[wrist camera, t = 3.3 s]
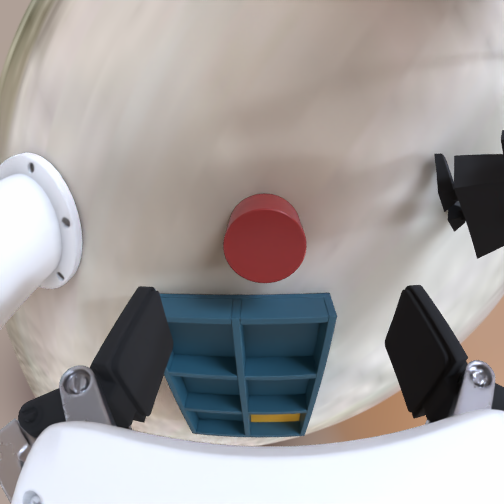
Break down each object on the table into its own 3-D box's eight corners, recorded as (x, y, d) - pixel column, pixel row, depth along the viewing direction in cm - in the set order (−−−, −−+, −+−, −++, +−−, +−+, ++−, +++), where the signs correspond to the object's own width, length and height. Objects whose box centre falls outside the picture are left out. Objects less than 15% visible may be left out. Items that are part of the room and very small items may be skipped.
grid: (195, 416, 30) (192, 433, 27) (151, 293, 20) (140, 314, 18) (302, 418, 29) (304, 435, 27) (329, 292, 20) (337, 315, 17)
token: (231, 259, 19) (226, 283, 16) (226, 194, 17) (219, 209, 14) (298, 258, 19) (304, 282, 16) (301, 193, 16) (309, 208, 14)
